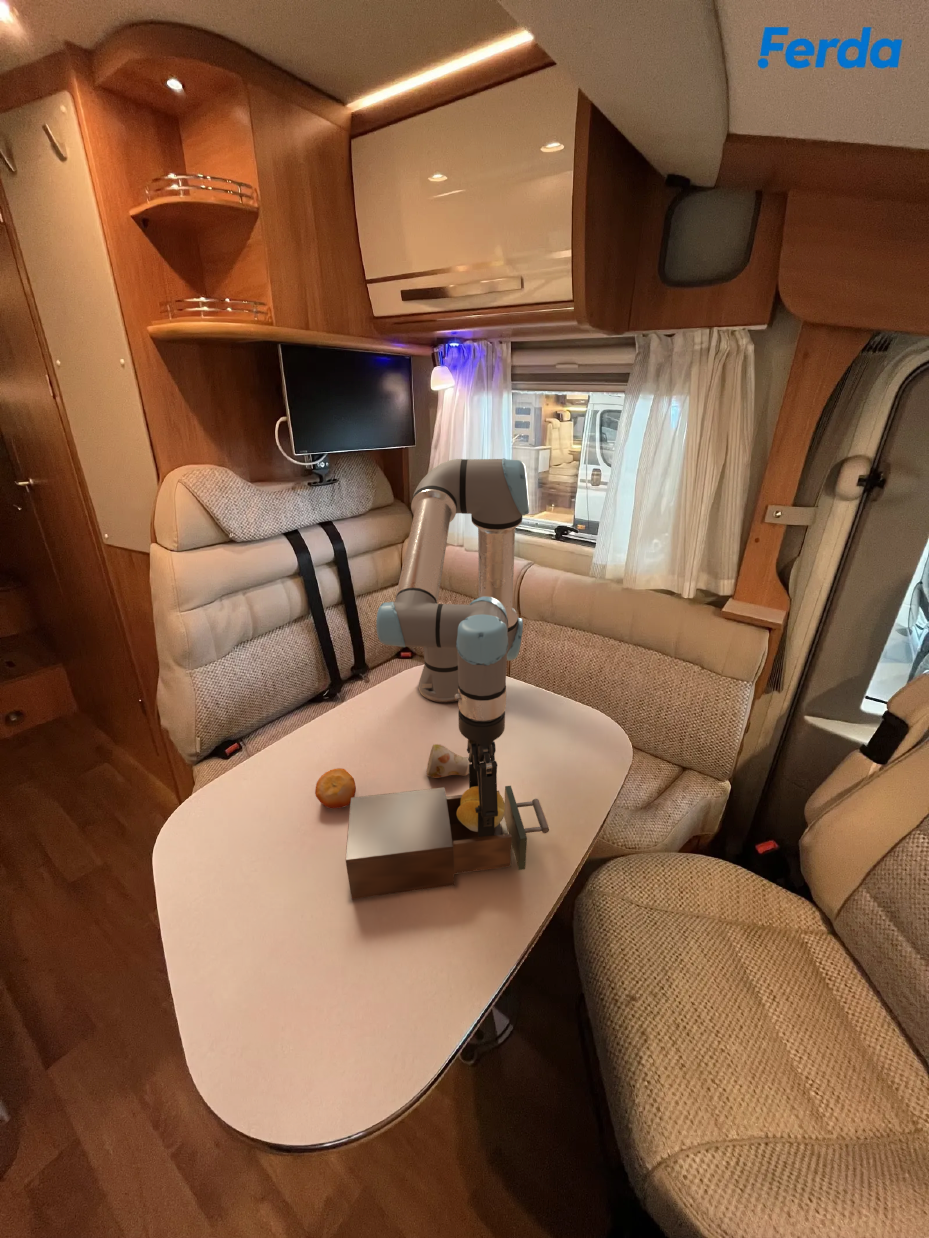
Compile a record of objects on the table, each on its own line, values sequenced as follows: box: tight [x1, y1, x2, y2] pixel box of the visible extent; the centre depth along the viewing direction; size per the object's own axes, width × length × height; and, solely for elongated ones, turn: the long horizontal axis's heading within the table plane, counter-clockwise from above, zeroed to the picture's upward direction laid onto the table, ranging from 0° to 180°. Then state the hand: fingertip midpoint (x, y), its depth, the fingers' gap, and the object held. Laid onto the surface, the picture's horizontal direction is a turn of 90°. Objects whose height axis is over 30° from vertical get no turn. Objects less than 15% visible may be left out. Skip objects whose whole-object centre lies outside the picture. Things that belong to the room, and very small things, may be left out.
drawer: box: [446, 785, 550, 875], centre depth 92 cm, size 21×12×8 cm, turn 98°
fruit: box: [314, 767, 357, 810], centre depth 104 cm, size 8×8×8 cm
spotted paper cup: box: [426, 743, 471, 779], centre depth 110 cm, size 8×10×10 cm
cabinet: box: [345, 786, 455, 900], centre depth 90 cm, size 18×14×10 cm
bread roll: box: [457, 786, 505, 832], centre depth 89 cm, size 8×9×4 cm
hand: (481, 811), depth 90 cm, fingers closed on bread roll, 9 cm apart
